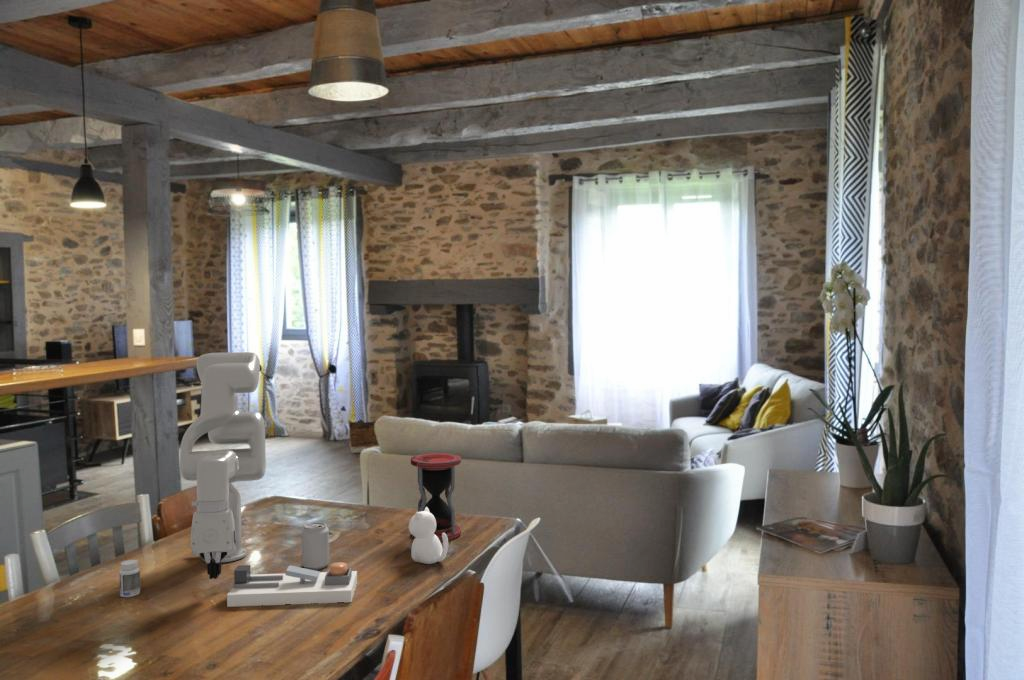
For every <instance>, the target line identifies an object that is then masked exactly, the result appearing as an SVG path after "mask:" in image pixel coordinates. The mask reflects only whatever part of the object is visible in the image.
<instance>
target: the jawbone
mask: <svg viewBox="0 0 1024 680" xmlns="http://www.w3.org/2000/svg"><path fill="white" fill-rule="evenodd" d="M342 534H343V532H342V531H341V530H336V529H335V530H329V544H331V542H332V543H333V541H334V542H335V540H336V539H337V538H338V537H339V536H341V535H342ZM339 538H340V537H339ZM339 538H338V539H339ZM338 539H337V540H338ZM337 540H336V541H337Z"/></svg>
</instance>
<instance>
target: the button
mask: <svg viewBox="0 0 1024 680" xmlns="http://www.w3.org/2000/svg"><path fill="white" fill-rule="evenodd" d="M347 568H348V564H347V563H346V562H343V561H342V562H339V561H338V562H333V563H331V564H329V569H330V576H346V575H347Z"/></svg>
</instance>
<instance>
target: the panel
mask: <svg viewBox="0 0 1024 680" xmlns="http://www.w3.org/2000/svg"><path fill="white" fill-rule="evenodd" d="M352 569H353V568H351V567H347V575H346V576H330V568H327V571H322V572H321V571H320V573H319V577H318V579H317V581H311V580H307V579H302V578H297V577H292V576H287V575H285V573H286V572H283V573H259V574H257V573H255V574H250V577H251V581H250V582H249V583H243V584H234V583H233V586H232V587H231V589H230V590H229V592H228V593H227V594H226V598H227V599H226V604H227V607H226V608H228V607H229V608H232V607H256V606H262V605H263V606H285V604H291V605H312V604H313V603H318V604H338V603H337V602H344V603H352V601H353V599H352V598H354V596H355V595H354V594H355V592H354V591H356V588H357V585H356V584H358V570H352ZM311 603H312V604H311Z"/></svg>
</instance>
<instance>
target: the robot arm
mask: <svg viewBox="0 0 1024 680" xmlns="http://www.w3.org/2000/svg"><path fill="white" fill-rule="evenodd" d="M196 370H197V375H198V377H199V379H200V380H199V381H200V383H201V398H200V399H201V401H200V402H201V403H200V414H199V416H198V417H197V418H196V419H195V420H194V421H192V423H191V424H190V425H189V426H188V428H187V429H186V430H185V432H184V434H183V436H182V439H181V442H180V451H179V473H180V476H181V477H182V478H183V480H185V481H191V482H193V481H196V500H193V501H191V507H193V508H196V510H195V511H194V512H193V514H192V523H191V531H190V532H191V533H190V550H191V555H192V556H197V557H200V558H201V560H202V562H205V564H207V565H206V567H207V571H206V572H207V573H206V574H207V575H209V576H208V577H209V580H212V579H214V580H217V579H218V578H219V576H220V575H221V574H222V564H223V563H231V562H234V561H239V560H241V559H243V558H245V557H246V556H247V555H248V549H247V548H245V547H243V546H242V499H241V494H240V492H239V490H238V489H237V488H236V487H235V486H234V485H233V484H232V483H236V482H248V481H249V482H250V481H251V482H252V481H259V480H261V479H262V478H263V477H264V476H265V474H266V467H267V466H266V464H267V463H266V462H267V461H266V459H267V458H266V427H265V426H266V425H265V424H266V423H265V420H264V417H263V415H262V414H261V413H260V412H258V411H240V410H239V395H238V394H246V393H247V394H250V393H253V392H256V390H257V388H258V386H259V381H260V373H261V372H260V370H261V362H260V358H259V356H258V354H256V353H254V352H249V351H248V352H247V351H246V352H242V351H241V352H240V351H239V352H227V351H226V352H209V353H205V354H201V355H200V356H199V357H197V360H196ZM205 434H207V437H208V440H209V442H210V443H211V444H213V445H219V446H220V445H221V446H225V445H227V446H228V445H247V446H249V448H226V449H225V448H224V449H223V448H222V449H216V450H214V449H213V450H196V451H195V450H193V448H194V445H195V443H196V441H197V440H199V438H201V437H202V436H204V435H205Z"/></svg>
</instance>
